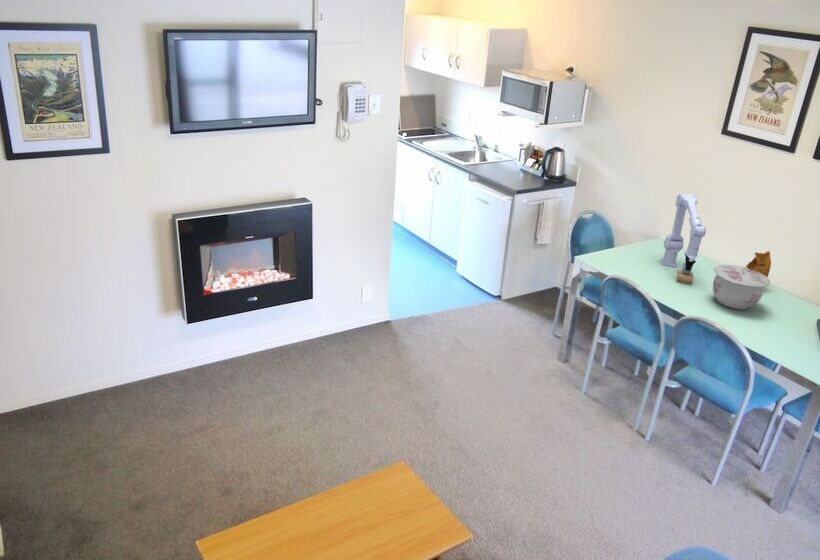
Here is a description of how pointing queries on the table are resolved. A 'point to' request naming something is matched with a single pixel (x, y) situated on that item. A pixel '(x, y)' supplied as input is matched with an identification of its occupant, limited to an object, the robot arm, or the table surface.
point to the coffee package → (761, 263)
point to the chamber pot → (738, 286)
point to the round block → (685, 267)
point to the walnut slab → (684, 281)
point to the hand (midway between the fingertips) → (687, 269)
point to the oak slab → (685, 276)
